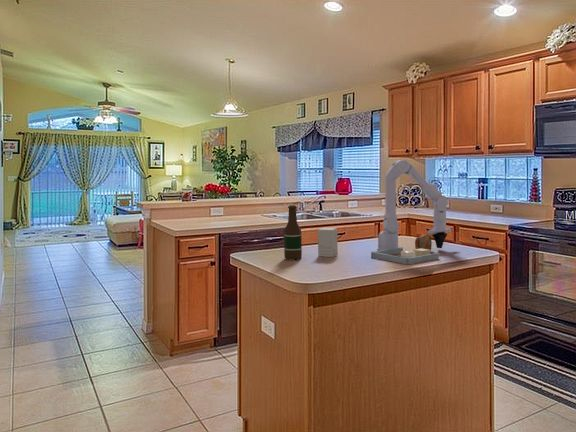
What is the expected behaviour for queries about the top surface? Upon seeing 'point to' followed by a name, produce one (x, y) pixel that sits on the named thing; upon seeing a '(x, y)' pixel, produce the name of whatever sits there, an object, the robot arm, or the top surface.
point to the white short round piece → (407, 254)
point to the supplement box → (327, 242)
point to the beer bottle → (292, 236)
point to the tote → (389, 257)
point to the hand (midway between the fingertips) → (439, 247)
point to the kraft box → (421, 252)
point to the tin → (423, 242)
